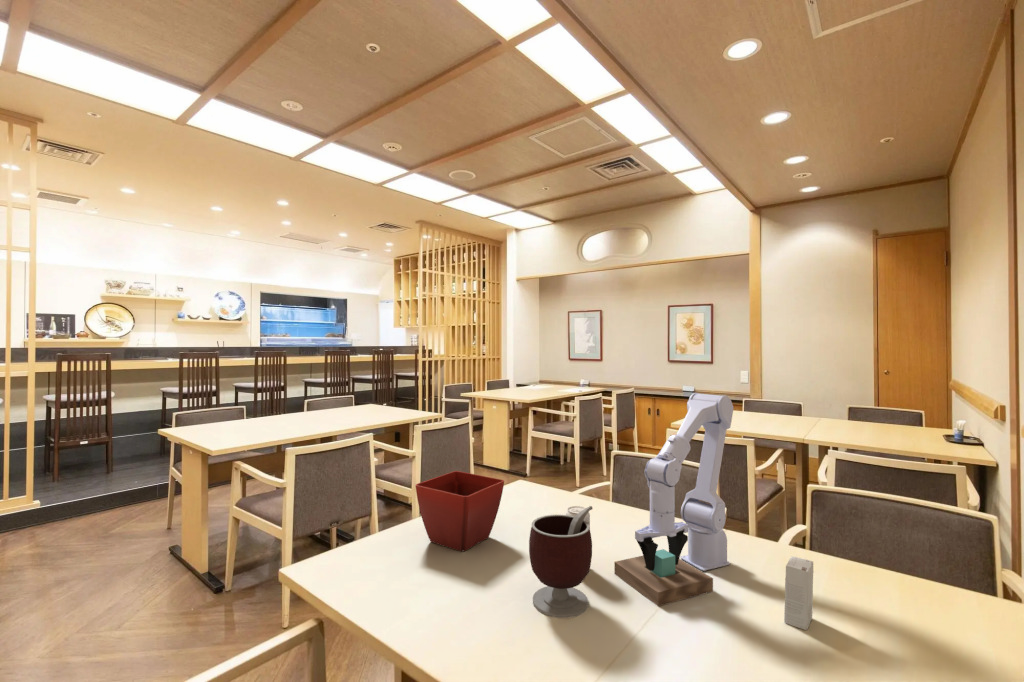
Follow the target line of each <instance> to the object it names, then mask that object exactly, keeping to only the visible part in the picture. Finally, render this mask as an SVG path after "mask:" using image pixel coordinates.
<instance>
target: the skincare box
mask: <svg viewBox="0 0 1024 682" xmlns="http://www.w3.org/2000/svg"><path fill="white" fill-rule="evenodd" d="M784 580H785V582H784V615H783V617H784V619H783V621H784V623H785V624H788V625H790V626H793V627H795V628H799V629H801V630H804V631H805V630H806V631H808V629H809V626H810V624H811V621H812V619H813V609H814V608H813V604H814V603H813V600H814V599H813V598H814V597H813V596H814V595H813V594H814V593H813V592H814V561H813V560H810V559H805V558H802V557H797V556H790V558H789V559H788V561H787V563H786V565H785V579H784Z"/></svg>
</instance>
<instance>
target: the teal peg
mask: <svg viewBox="0 0 1024 682" xmlns="http://www.w3.org/2000/svg"><path fill="white" fill-rule="evenodd" d="M651 572H653V573H654V574H656V575H657V576H659V577H660V578H662V577H666V576H670V575H674V574H675V555H673V554H671V553H670V552H669V550H666V549H664V548H662V549H658V550H656V554H655V567H654V570H653V571H651Z"/></svg>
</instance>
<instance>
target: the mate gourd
mask: <svg viewBox="0 0 1024 682" xmlns="http://www.w3.org/2000/svg"><path fill="white" fill-rule="evenodd" d="M592 510H593V506H592V505H589V506H588V507H585V509H584V510H582V511H581V512H579V513H578V514H577V515H576V516H575V517H574V516H569V515H566V514H548V515H543V516H539V517H537V518H535V519H534V520H533V521H532V522H531V527H530V532H529V540H528V553H529V560H530V562H529V563H530V566H531V570H532V572H533V574H534V575H535V576H536V577H537V579H538V580H539V581H540V583H542V585H545V586H544V587H541V588H540V589H537V590H536V591H535V592H534V593H533V596H532V605H533V607H534V608H535V609H536V610H537V611H538V612H540V613H541V614H543V615H546V616H548V617H552V618H557V619H569V618H575V617H577V616H580V615H582V614H583V613H585V612H586V611H587V610H588V608H589V598H588V597H587V595H586V594H585V593H584V592H582V591H581V590H580V589H578V588H576V587H578V586H579V585H581V583H583V581H584V580H585V579H586V577H587V576H588V575H589V572H590V569H591V565H592V564H591V563H592V557H593V541H592V533H591V528H590V527H591V526H589V524H588V523H587V522H586V521H585V520H584V518H585V516H586V515H587V513H588V512H589V513H590V511H592ZM589 528H590V529H589Z"/></svg>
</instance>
